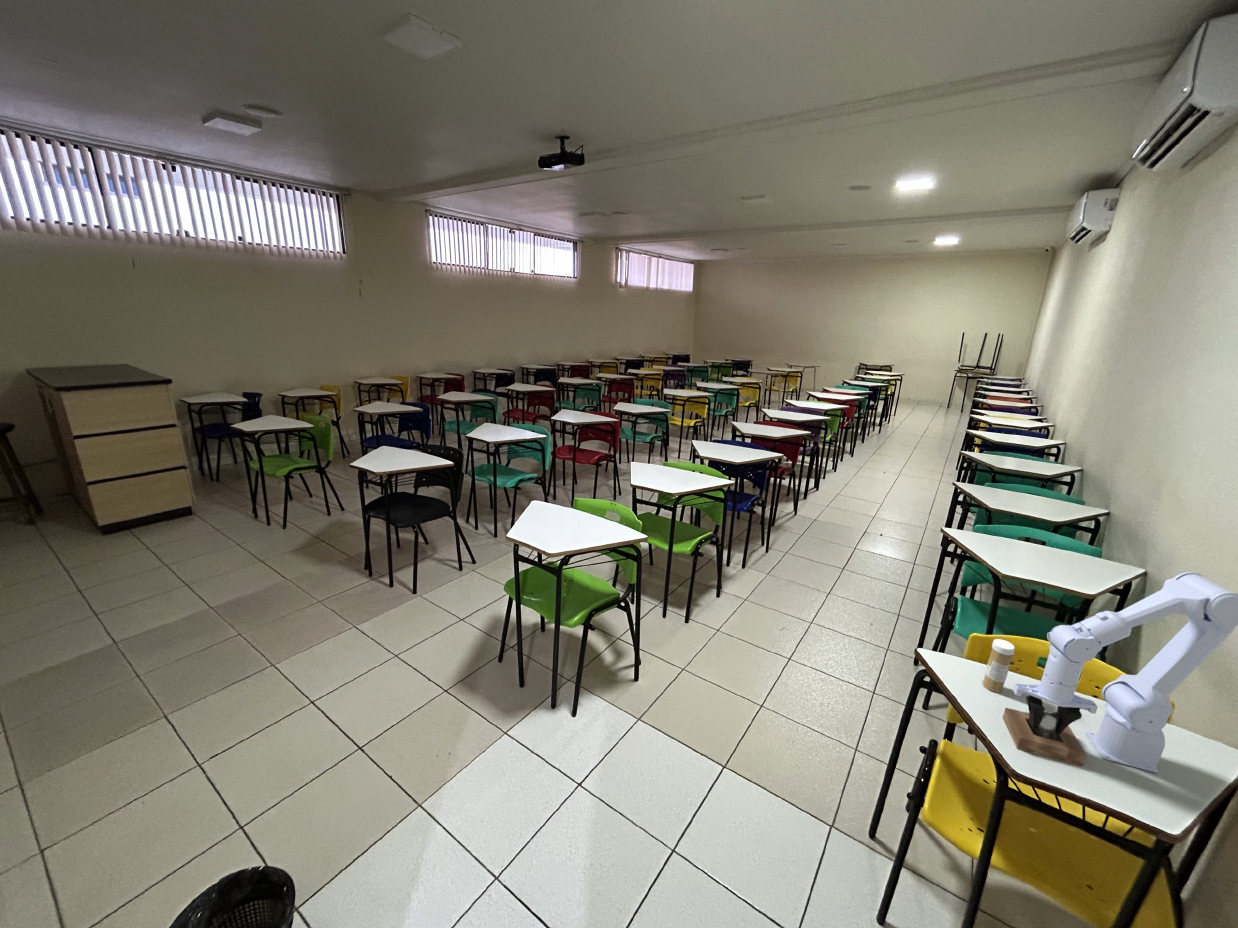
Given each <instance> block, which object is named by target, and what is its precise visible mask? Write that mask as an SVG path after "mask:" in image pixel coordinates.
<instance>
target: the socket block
mask: <svg viewBox="0 0 1238 928" xmlns="http://www.w3.org/2000/svg"><path fill="white" fill-rule="evenodd" d="M1003 711H1004V712H1003V715H1002V720H1003V722H1004V723H1005V726H1006V728H1007V730H1008V732H1009V733H1008V734H1010V736H1011V740H1012V741H1013V743H1014V747H1016V749H1017V750H1022V751H1024V752H1025V751H1026V752H1029V753H1032V754H1036V755H1040V756H1044V757H1048V758H1052V759H1055V760H1058V761H1062V762H1066V763H1069V764H1074V765H1078V766H1081V767H1083V766H1084V765H1085V761H1086V759H1087V756H1088V754H1087V753H1086V751H1085V750H1084V748H1083V746H1082V745H1081V743H1080V742H1079V740H1078V738H1077V737H1076V735H1075V734H1074V732H1073V730H1072V729H1071V728H1070V725H1068V726H1067V727H1066V728H1065V729H1064V730H1063V731H1062V733H1061V734H1057V733H1056V732H1055V735H1054V738H1053V740H1051V739H1047V738H1043V737H1039V736H1036V735H1034V734H1033V733H1032V731H1031V727H1032V726H1031V724H1030V722H1029V712H1025V711H1021V710H1016V709H1015V708H1014V709H1013V708H1010V707H1009V708H1008V707H1005V708H1004V710H1003Z"/></svg>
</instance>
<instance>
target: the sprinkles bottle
mask: <svg viewBox="0 0 1238 928" xmlns="http://www.w3.org/2000/svg"><path fill="white" fill-rule="evenodd" d="M1015 649H1016V647H1015V645H1014V644H1012V642H1009V641H1008V640H1004V639H1000V638H995V639H993V641H992V644H991V652H990V655H989V659H988V662H987V665H986V669H985V673H984V674H985V675H984V678H983V680H982V685H983V686H984V687H985V688H986V690H987V689H988V690H989V691H991V692H994V693H1002V692H1003V691H1004V686H1005V682H1006V681H1007V676H1008V673H1009V668H1010V665H1011V661H1012V658H1013V655H1014V654H1015V651H1016V650H1015Z"/></svg>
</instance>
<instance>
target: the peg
mask: <svg viewBox="0 0 1238 928" xmlns="http://www.w3.org/2000/svg"><path fill="white" fill-rule="evenodd" d="M1043 706H1044V708H1045V710H1044V711H1043V713H1042V714H1041V716H1040V718H1039V722H1038V725H1037V727H1036V728H1033V727H1031V731H1032V733H1033V735H1035V736H1039V737H1043V738H1047V739H1051V740H1053V738H1054V735H1055V731H1056V728H1057V725H1058V721H1059V718H1060V715H1059V714H1058V713H1057V711H1056V710H1054V709H1053V708H1051V707H1048V706H1045V705H1043Z"/></svg>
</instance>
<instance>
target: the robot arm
mask: <svg viewBox="0 0 1238 928" xmlns="http://www.w3.org/2000/svg"><path fill="white" fill-rule="evenodd" d="M1173 614H1179V615H1184V616H1187V619H1188V622H1187V623H1186V624H1185V625H1184V626H1183V627H1182V628H1181V629H1180V630H1179V631H1178V632H1177V633H1176V634H1175V635H1174V636H1173V637H1172V638H1171V639H1170V640H1169V641H1168V643H1166V645H1164V646H1163V648H1162V649H1161V650H1160V651H1159V652H1158V653H1157V654H1156V655H1154V657H1152V659H1151V660H1150V661H1149V662H1147V664H1146V665H1145V666H1144V667H1143V668H1142V669H1141V670H1140V671H1139V672H1138V673H1137V674H1121V675H1120V676H1118V678H1116V679H1115V680H1113V681H1110V682H1108V683H1107V684H1105V685H1104V686H1103V688H1102V690H1101V696H1102V699H1103V700H1104V701H1105V704H1104V707H1105V712H1104V714H1103V718H1102V720H1101V723H1100V727H1099V729H1098V732H1097V733H1095V732H1091V731H1090V732H1089V731H1088V732H1087V733H1086V734H1087V737H1088V738H1089V739H1090V741H1091V743H1092V745H1094V747H1095V749H1096V750H1097V752H1098V753H1099V755H1100V757H1102V759H1104V760H1107V761H1110V762H1114V763H1118V764H1122V765H1125V766H1130V767H1134V768H1138V769H1142V770H1146V771H1149V772H1154V773H1158V772H1159V770H1158V769H1157V767H1158V764H1159V762H1160V759H1161V757H1162V754H1163V752H1164V750H1165V748H1166V739H1165V734H1164V732H1163V729H1164V728H1165V726H1166V725H1167V723H1168V720H1169V717H1170V716H1171V715H1172V714H1173V713H1174V708H1173V704H1172V702H1171V698H1170V694H1171V693H1172V692H1174V691H1175V690H1176V688H1178V686H1180V684H1181V683H1183V682H1184V680H1186V678H1188V677H1189V676H1190V675H1191V674H1192V673H1193V672H1194V671H1195V670H1196V669H1197V668H1198V667H1199V666H1200V665H1201V664H1202V663H1203V662H1204V661H1206V659H1207V658H1208V657H1210V656H1211V654H1212V653H1213V652H1214V651H1215V650H1216V649H1218V648H1219V646H1221V644H1223V642H1225V641H1226V640H1227V639H1228V638H1229V637H1230V636H1232V635H1231V634H1232V633H1233V632H1234V631H1235V629H1236V628H1237V626H1238V593H1236V592H1234V591H1231V590H1230V589H1228V588H1226V587H1224V586H1222V585H1220V584H1218V583H1216V582H1214V581H1213V580H1211V579H1208V578H1207V577H1204V576H1203V575H1202V574H1200V573H1198V572H1194V571H1185V572H1182V573H1179V574H1177V575H1175V576H1174V577H1173V578H1169V579H1166V580H1165V582H1164V584H1163V586H1162V588H1161V589H1160V590H1158V591H1157V592H1156V591H1155V593H1152V594H1151V595H1148V596H1147V597H1145V598H1143V599H1141V600H1139V601H1136V602H1135V603H1133V604H1131V605H1129V606H1127V607H1125V608H1124V609H1122V610H1120V611H1116V612H1115V611H1110V610H1104V611H1100V612H1097V613H1095V615H1092V616H1090V617H1088V618H1086V619H1083V620H1081V621H1079V622H1076V623H1074V624H1071V625H1069V624H1060V625H1057V626H1054V627H1053V628H1052V629H1051V630H1050V631H1049V632H1047V634H1046V638H1047V641H1048V643H1049V648H1048V649H1049V653H1048V656H1047V660H1046V663H1045V666H1044V670H1043V673H1042V677H1041V680H1040V683H1039V684H1026V683H1025V684H1024V683H1017V682H1015V683H1013V684H1014V685H1013V688H1012V690H1013V693H1014V695H1015V696H1018V697H1022V696H1025V699H1026V702H1027V707H1028V713H1029V722H1030V724H1031V726H1032V727H1033V728H1036V727H1037V725H1038V722H1039V718H1040V716H1041V714H1042V713H1043V711H1044V710H1045V708H1044V706H1045V705H1043V703H1044V702H1047V703H1049V704H1053V705H1054V706H1057V711H1056V712H1057V713H1058V714H1059V715H1060V718H1059V721H1058V725H1057V728H1056V731H1055V732H1056V733H1057V734H1061V733H1062V731H1063V730H1064V729H1065V728H1066V727H1067V726H1070V725H1071V724H1072V723H1073V722H1076V721H1078V720H1081V718H1082V715H1083V714H1082V712H1081V711H1080V710H1084V711H1087V712H1089V713H1090V714H1096V713H1097V710H1098V705H1097V703H1096V702H1095V701H1094V700H1091V699H1089V698H1084V697H1082V696H1079V695H1076V694H1075V692H1076V689H1077V687H1078V683H1079V680H1080V678H1081V677H1080V676H1081V675H1082V671H1083V668H1084V665H1085V662H1086V663H1087V662H1089V661H1092V660H1093V659H1094V658H1095V657H1096V656H1097V654H1098V653H1099V652H1101V651H1102V650H1103V647H1107V646H1108V645H1111V644H1114V643H1116V642H1118V641H1120V640H1123V639H1125V638H1128V637H1130V636H1131V632H1132V628H1134V627H1138V626H1141V625H1143V624H1148V623H1149V622H1152V621H1156V620H1159V619H1161V618H1165V617H1168V616H1171V615H1173ZM1043 701H1044V702H1043Z"/></svg>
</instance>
